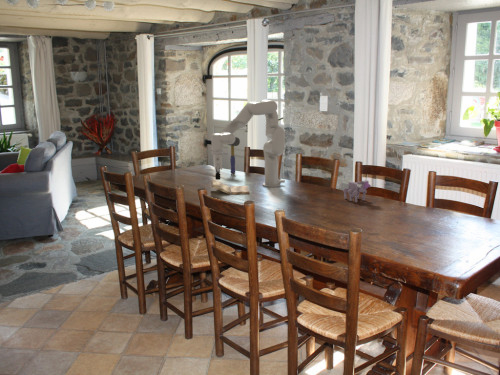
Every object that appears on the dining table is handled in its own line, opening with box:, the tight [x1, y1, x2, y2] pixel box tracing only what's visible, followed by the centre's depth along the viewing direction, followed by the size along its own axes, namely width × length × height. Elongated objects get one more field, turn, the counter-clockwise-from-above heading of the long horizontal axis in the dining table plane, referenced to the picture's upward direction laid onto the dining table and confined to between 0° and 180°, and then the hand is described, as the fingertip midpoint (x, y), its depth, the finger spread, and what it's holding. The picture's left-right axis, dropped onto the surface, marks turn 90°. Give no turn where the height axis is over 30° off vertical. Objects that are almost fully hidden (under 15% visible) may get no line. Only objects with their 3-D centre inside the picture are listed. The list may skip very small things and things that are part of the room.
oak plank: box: [210, 179, 231, 195], centre depth 333 cm, size 13×18×2 cm
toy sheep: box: [342, 179, 372, 203], centre depth 303 cm, size 20×11×14 cm, turn 32°
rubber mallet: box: [226, 136, 241, 175], centre depth 392 cm, size 12×8×30 cm, turn 35°
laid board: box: [229, 185, 250, 195], centre depth 335 cm, size 12×18×2 cm
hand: (217, 179), depth 332 cm, fingers closed
